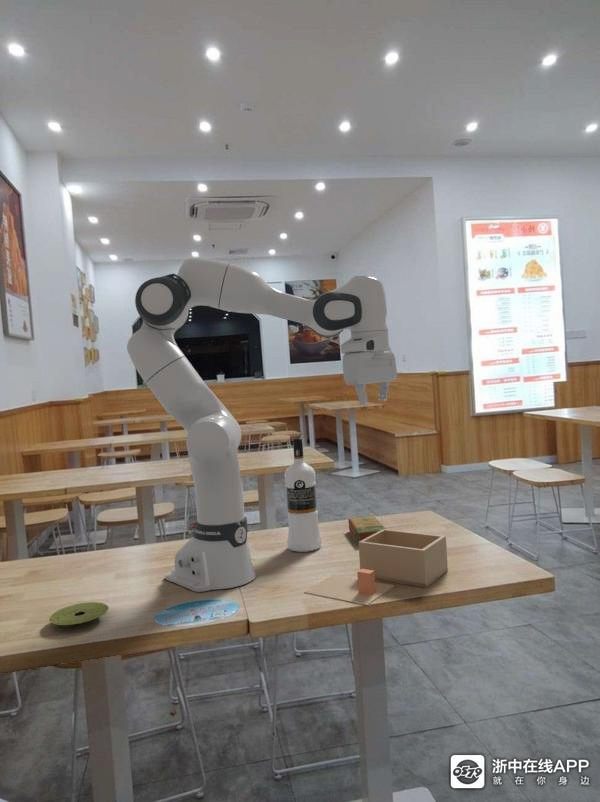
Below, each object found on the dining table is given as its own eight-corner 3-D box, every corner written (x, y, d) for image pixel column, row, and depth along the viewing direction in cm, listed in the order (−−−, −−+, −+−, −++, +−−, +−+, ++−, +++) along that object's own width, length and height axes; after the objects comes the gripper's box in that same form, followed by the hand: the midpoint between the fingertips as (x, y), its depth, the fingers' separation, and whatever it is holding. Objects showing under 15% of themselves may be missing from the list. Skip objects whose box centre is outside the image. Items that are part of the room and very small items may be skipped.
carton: (376, 530, 174) (375, 515, 173) (389, 545, 158) (388, 529, 157) (348, 532, 173) (347, 518, 173) (359, 548, 157) (358, 532, 157)
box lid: (304, 595, 126) (302, 571, 126) (333, 578, 136) (331, 555, 135) (367, 608, 117) (365, 582, 117) (394, 589, 126) (392, 564, 126)
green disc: (43, 638, 112) (42, 627, 112) (56, 615, 123) (56, 605, 123) (104, 629, 114) (104, 619, 114) (112, 607, 125) (111, 598, 125)
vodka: (324, 542, 162) (317, 435, 161) (318, 553, 153) (311, 439, 152) (291, 543, 164) (284, 436, 163) (284, 553, 155) (276, 440, 154)
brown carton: (360, 576, 134) (358, 542, 133) (385, 561, 143) (383, 528, 143) (426, 587, 124) (424, 550, 124) (447, 570, 134) (445, 536, 134)
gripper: (379, 346, 151) (382, 399, 151) (336, 345, 134) (340, 405, 135) (401, 343, 147) (404, 398, 147) (360, 343, 130) (364, 405, 131)
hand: (373, 402), depth 141 cm, fingers open, 8 cm apart
